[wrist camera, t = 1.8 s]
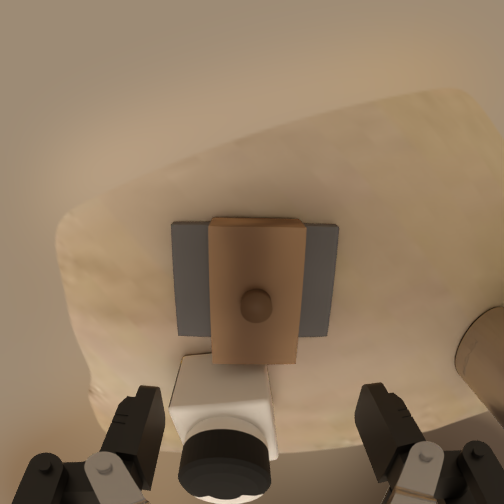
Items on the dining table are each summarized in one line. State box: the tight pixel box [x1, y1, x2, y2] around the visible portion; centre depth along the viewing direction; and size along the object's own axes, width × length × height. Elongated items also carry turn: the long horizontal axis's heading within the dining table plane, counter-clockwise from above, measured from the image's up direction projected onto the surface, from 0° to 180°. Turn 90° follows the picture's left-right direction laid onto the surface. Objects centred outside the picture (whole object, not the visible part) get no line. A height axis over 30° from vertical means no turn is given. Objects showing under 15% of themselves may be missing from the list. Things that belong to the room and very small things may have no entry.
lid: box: [208, 218, 307, 364], centre depth 22 cm, size 6×10×4 cm, turn 179°
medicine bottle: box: [168, 353, 279, 504], centre depth 22 cm, size 7×7×12 cm
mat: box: [171, 222, 339, 337], centre depth 25 cm, size 12×9×1 cm
